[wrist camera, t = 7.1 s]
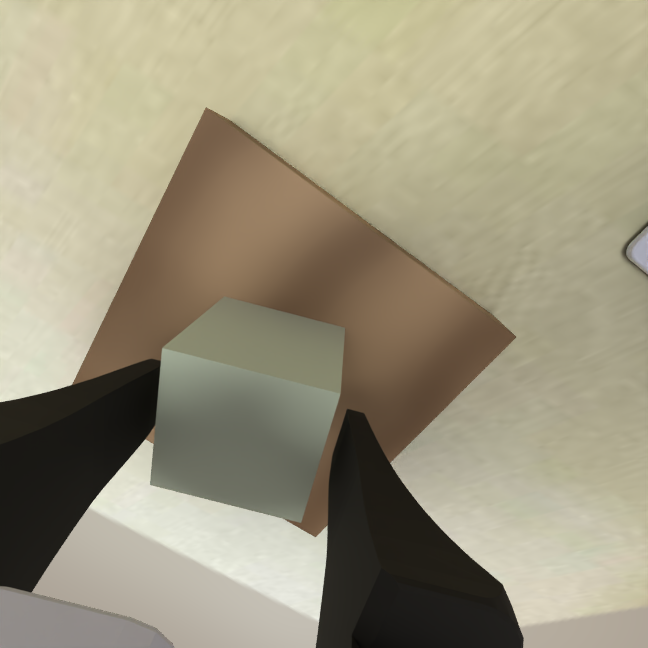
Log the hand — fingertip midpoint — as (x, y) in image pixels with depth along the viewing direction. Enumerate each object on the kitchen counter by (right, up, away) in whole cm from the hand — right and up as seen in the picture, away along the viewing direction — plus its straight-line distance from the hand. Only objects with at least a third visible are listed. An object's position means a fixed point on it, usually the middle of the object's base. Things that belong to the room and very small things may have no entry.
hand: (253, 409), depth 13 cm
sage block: (0, +1, +3) cm, 3 cm away
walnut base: (0, +2, +5) cm, 6 cm away
